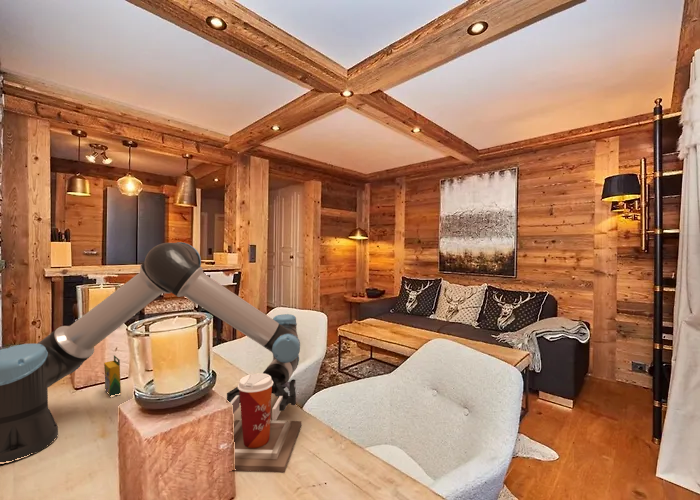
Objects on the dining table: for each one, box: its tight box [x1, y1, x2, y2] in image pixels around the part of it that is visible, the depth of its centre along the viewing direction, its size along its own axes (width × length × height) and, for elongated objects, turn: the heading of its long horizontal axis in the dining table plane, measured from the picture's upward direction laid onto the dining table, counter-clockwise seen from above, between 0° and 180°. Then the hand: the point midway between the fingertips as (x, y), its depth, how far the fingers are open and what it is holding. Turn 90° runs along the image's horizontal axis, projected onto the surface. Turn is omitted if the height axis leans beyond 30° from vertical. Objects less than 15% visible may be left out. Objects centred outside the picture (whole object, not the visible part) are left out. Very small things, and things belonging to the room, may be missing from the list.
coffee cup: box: [237, 372, 273, 448], centre depth 80 cm, size 8×8×15 cm
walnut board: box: [233, 419, 302, 473], centre depth 80 cm, size 18×18×2 cm
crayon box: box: [103, 354, 122, 397], centre depth 109 cm, size 7×3×12 cm, turn 48°
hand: (250, 414), depth 76 cm, fingers open, 10 cm apart
